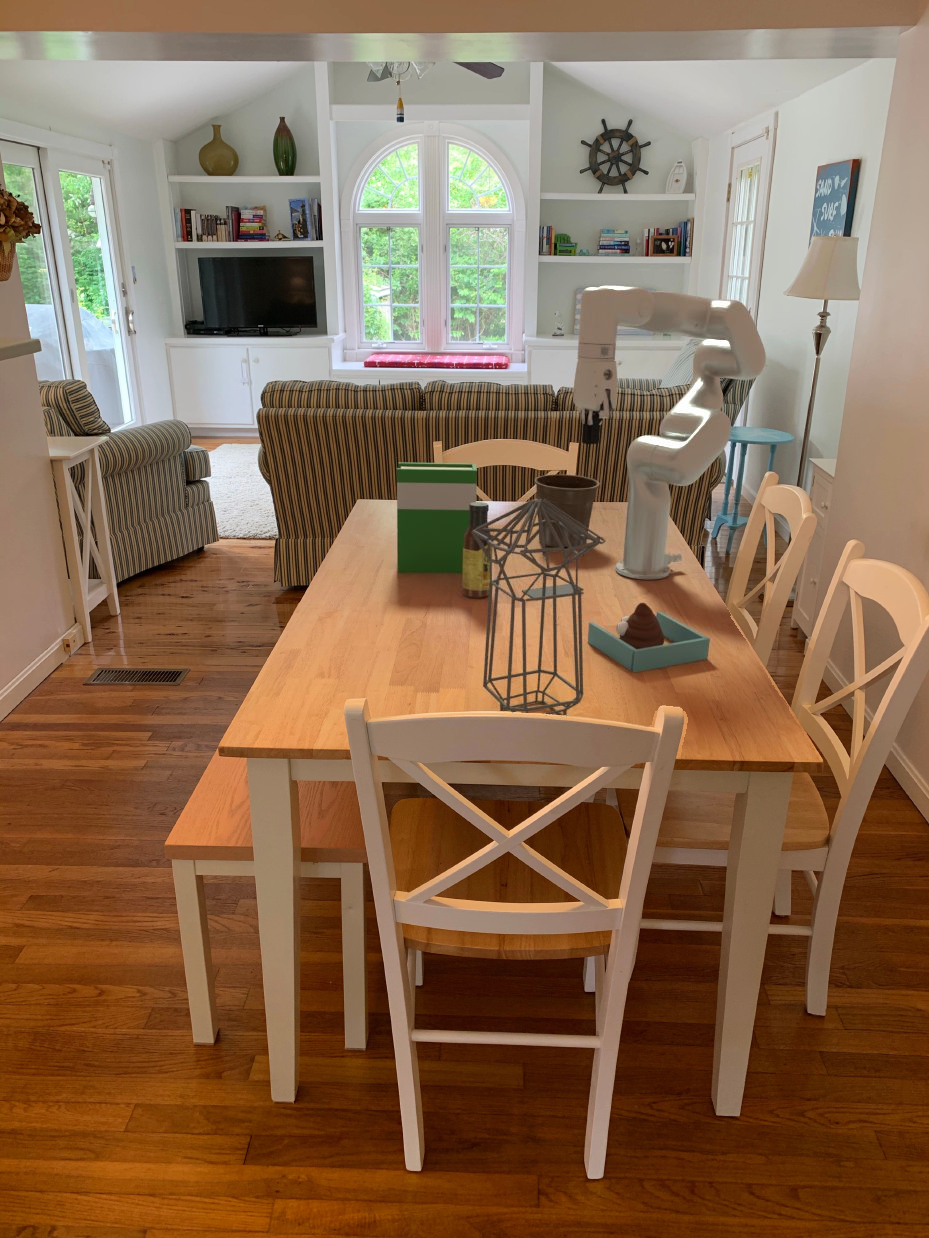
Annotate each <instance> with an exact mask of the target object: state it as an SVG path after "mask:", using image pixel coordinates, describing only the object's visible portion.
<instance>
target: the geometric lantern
mask: <svg viewBox="0 0 929 1238" xmlns="http://www.w3.org/2000/svg"><path fill="white" fill-rule="evenodd" d="M560 512H561V513H560ZM516 513H517V514H516ZM541 513H542V515H543V516H544V518H545V520H543V521H542V517H541ZM546 513H547V514H548V515H549V516H550V517H551V518H552V519H553V520H554V521H550V519H549V518H548V516H547V514H546ZM514 514H515V515H514ZM563 514H564V515H563ZM512 515H514V517H512V518H511V519H510V520H509V521H508V522H507V523H506V524H504V526H503V527H502V528H495V527H494V528H493V527H489V526H490V525H493V524H495V523H497V522H499V521H502V520H503V519H505V518H508V517H510V516H512ZM566 516H567V517H568V518H567V517H566ZM569 518H570V519H571V520H573V521H574V522H576V523H577V524H579V525H580V526H582V527H583V528H585V529H586V530H588V532H587V531H585V530H584V529H583V528H581V527H580V526H578V525H577V524H576V523H574V522H573V521H571V520H570V519H569ZM523 519H524V520H523ZM536 519H537V522H536ZM522 520H523V521H522ZM521 521H522V523H521V525H520V527H519V529H516V530H514V529H515V528H516V527H517V526H518V525H519V523H520V522H521ZM551 522H553V523H557V524H558V526H559V528H560V531H561V533H562V535H563V537H564V539H565V542H566V544H567V546H568V547H566V548H565V547H563V545H562V543H561V541H560V539H559V537H558V535H557V534H556V532H555V530H554V528H553V526H552V524H551ZM547 524H548V526H549V528H550V530H551V532H552V534H553V536H554V538H555V540H556V542H557V543H558V545H559V548H554V547H547V546H546V545H545V540H544V532H543V528H544V527H545V526H546V525H547ZM487 526H488V528H485V527H487ZM537 526H538V528H537V529H536V530H535V532H534V533H533V534H532V532H533V530H534V528H535V527H537ZM563 528H564V529H565V530H566V531H568V532H569V533H570V534H572V535H573V537H575V538H576V541H575V545H574V547H572V546H571V544H570V542H569V540H568V538H567V535H566V533H565V531H564V529H563ZM576 530H577V531H578V532H580V533H581V534H583V535H581V534H579V533H578V532H577V531H576ZM477 531H478V532H477ZM479 532H480V533H482V534H483V535H482V534H480V533H479ZM487 532H490V534H489V533H487ZM491 532H493V533H495V534H494V535H493V534H491ZM471 533H472V534H473V536H474V538H475V539H476V541H477V542H478V544H479V546H480V547H481V549H482V551H483V552H484V554H485V555H486V557H487V559H488V560H489V561H490V583H489V595H488V596H487V597H488V600H487V617H486V618H487V619H486V634H485V635H486V636H485V646H484V647H485V650H484V652H485V653H484V665H483V683H482V687H483V688H484V690H486V692H488V693H489V694H490V695H491V696H492V697H493V698H494V699H495V700H496V701H497V702H498V703H499V712H500V711H503V712H504V711H505V710H506V711H509V712H511V713H513V712H524V713H529V714H530V712H532V711H538V710H543V709H550V710H552V711H548V712H545V713H546V714H549V715H553V714H557V715H559V716H560V715H566V716H567V714H568V712H567V711H568V710H571V708H574V707H576V706H577V705H578V704H580V703H581V701H582V699H583V697H584V673H583V672H584V670H583V669H584V668H583V666H584V665H583V661H584V659H583V617H582V615H583V614H582V612H583V611H582V610H583V609H582V607H583V605H582V594H581V591H583V592H584V588H583V587H582V586H579V578H578V577H579V576H578V575H579V571H578V569H579V568H578V567H579V566H578V565H579V564H578V562H579V560H578V559H579V558H581V557H585V556H586V555H585V554H586V553H588V552H590V551H591V550H593V549H594V548H595V547H597V546H598V545H599V544H600V545H603V544H605V543H606V542H607V540H606V539H605V538H603V537H602V536H600V535H598V534H597V533H596V532H594V531H593V530H591V529H590V528H589V529H588V528H587V527H585V526H584V525H582V524H581V523H579V522H578V521H576V520H575V519H573V518H572V517H570V516H569V515H567V514H566V513H564V512H563V511H562V510H560V509H559V508H557V507H556V506H554V505H553V504H551V503H550V502H548V501H547V500H545V499H544V501H543V500H541V499H540V500H538V497H537V498H535V499H531V500H528V501H526V502H524V503H523V504H521V505H519V506H517V507H516V508H514V509H512V510H510V511H508V512H505V513H504V514H501V515H500V516H498V517H495V518H493V519H491V520H489V521H488V522H487V523H485V524H483V525H481V526H479V527H477V528H476V529H475V530H473V531H472V532H471ZM503 533H504V534H503ZM539 533H540V538H541V543H540V544H541V548H532V549H531V548H530V549H529V548H528V546H529V545H530V544H531V542H533V540H534V539H536V537H538V536H539ZM502 534H503V536H501V535H502ZM513 534H514V535H515V537H514V540H513ZM523 534H526V536H525V543H524V544H519V542H520V540H521V537H522V535H523ZM531 534H532V535H531ZM484 535H485V536H484ZM478 536H479V537H480V538H482V539H484V540H486V541H487V547H488V552H487V550H486V549H485V547H484V545H483V544H482V542H481V541H480V539H479V537H478ZM486 536H487V537H486ZM499 536H501V538H499ZM508 536H509V542H507V541H505V540H506V539H507V538H508ZM488 537H489V538H491V539H490V540H489V538H488ZM578 539H579V540H582V541H584V544H583V545H579V546H577V543H578ZM588 540H589V541H591V542H587V541H588ZM495 542H497V543H495ZM490 545H491V546H493V548H492V549H493V554H494V555H493V556H494V558H493V557H492V558H491V553H490ZM501 545H503V546H505V547H503V546H501ZM516 549H520V551H519V552H518V551H515V550H516ZM497 550H498V551H501V552H504V554H503V555H502V556H500V558H498V553H497ZM578 550H581V551H579V552H578ZM550 552H551V553H553V552H561V553H562V554H563V561H562V562H561V564H560V565H555V566H552V567H550V561H549V559H550V558H549V554H548V553H550ZM537 553H538V554H539V553H542V556H543V557H545V562H546V564H545V565H546V567H544V566H543V565H542V564H541V563H539V562H538V561H537V559H536V558H535V556H534V555H533V554H537ZM511 554H514V555H515V554H516V555H520V556H522V557H523V558H524V559H526V560H528V561H529V562H530V563H531V564H533V565H534V566H535V567H537V568H538V569H539V570H540V571H541V572H536V573H535V572H533V573H527V574H519V575H518V574H517V575H512V576H508V575H507V573H506V571H505V566H506V562H507V561H508V557H509V556H510V555H511ZM572 554H573V555H574V556H573V557H571V558H570V556H571V555H572ZM529 555H530V556H529ZM569 558H570V559H569ZM573 562H575V582H574V579H573V576H572V573H571V572H570V568H569V565H571V564H572V563H573ZM493 564H495V565H498V567H499V571H498V574H497V577H496V578H495V579H493ZM563 569H565V573H566V575H567V577H568V579H566V578H565V577H562V576H561V575H559V574H560V573H561V571H562V570H563ZM554 571H556V572H555V573H552V572H554ZM550 572H551V573H550ZM502 576H503V577H502ZM533 576H535V577H536V578H535V579H534V580H533V581H532V583H531V584H530V585H529V587H528V588H527V589H525V590H526V592H525V593H523V594H522V595H521V596H520V597H518V596H517V595H516V593H515V590H514V589H513V586H512V584H511V581H510V580H513V579H520V578H526V577H533ZM541 576H542V587H541V588H542V597H537V598H531V597H530V598H525V596H527V592H528V591H529V590H530V589H532V587H533V586H534V585H535V583H536V582H537V581H538V580H539V578H540V577H541ZM547 577H549V578H552V586H553V595H552V596H545V593H546V587H547ZM557 578H558V579H560V580H562V581H563V582H565V583H566V584H571V586H572V588H573V591H574V592H572V593H568V594H560V595H556V586H557ZM500 581H505V583H506V586H507V588H508V589H509V592H508V591H506V589H504V588H502V587H501V586H500ZM493 587H494V600H493ZM499 591H501V592H502V593H504V594H505V595H507V596H508V597H509V598H511V605H510V606H511V607H510V625H509V642H508V643H509V645H508V659H507V660H508V663H507V665H508V666H507V674H506V675H501V676H497V677H492V672H493V664H494V663H493V662H494V653H495V652H494V650H495V641H496V640H495V638H496V627H497V626H496V625H497V615H498V614H497V613H498V598H499ZM570 596H571V602H572V603H571V605H572V606H571V608H572V633H573V653H574V655H573V656H574V677H575V680H574V681H575V685H574V684H572V683H571V682H570V681H568V680H567V679H566V678H565V677H563V676H562V675H560V674H559V673H558V644H557V643H558V637H557V635H558V633H557V632H558V629H557V627H558V625H557V622H558V621H557V616H558V615H557V598H564V597H570ZM576 596H577V600H576ZM548 599H552V627H553V628H552V629H553V630H552V633H553V635H552V637H553V638H552V639H553V641H552V642H553V643H552V644H553V645H552V646H553V671H551V670H545V669H542V658H543V643H544V642H543V640H544V627H545V626H544V625H545V623H544V622H545V607H546V600H548ZM538 600H541V608H540V609H541V611H540V623H539V624H540V626H539V627H540V629H539V643H538V644H539V645H538V662H537V669H534V670H530V671H527V630H526V629H527V628H526V627H527V624H526V619H527V618H526V615H527V614H526V611H527V610H526V606H527V605H526V602H532V601H538ZM492 601H494V602H493V610H492ZM516 601H517V602H521V638H522V641H521V642H522V647H521V648H522V649H521V650H522V672H519V673H518V672H517V673H512V672H513V671H512V670H513V651H514V649H513V648H514V632H515V631H514V630H515V628H514V627H515V609H516ZM492 611H493V612H492ZM577 614H578V615H577ZM577 617H578V619H577ZM491 618H492V619H491ZM491 620H492V624H491ZM577 620H578V621H577ZM577 622H578V623H577ZM491 625H492V626H491ZM490 634H491V635H490ZM490 636H491V637H490ZM489 651H490V652H489ZM534 674H538V675H537V687H536V688H537V689H536V690H531V691H527V690H528V689H527V686H528V685H527V676H529V675H534ZM541 674H546V675H551V676H552V677H551V678H550V680H549V681H548V682H547V684H546V686H545V687H544V689H543V690H540V687H541V686H540V685H541ZM519 677H522V693H519V694H516V695H511V692H512V691H511V689H512V678H519ZM555 678H557V679H559V680H560V681H561V682H563V683H564V684H566V685H567V686H568V687H570V688H571V689H572V690H574V691H575V697H574V698H573V699H572V700H568V701H562V702H561V701H560V700H558V699H556V698H555V697H554V696H552V695H550V694H548V692H546V691H547V690H548V688H549V687H550V685H551V683H552V682H553V680H554V679H555ZM506 679H507V681H506V682H507V684H506V697H504V698H503V697H502V694H501V693H500V692H499V690H498V688H497V687H496V686H495V684H494V683H493V682H497V681H501V680H506ZM489 684H490V685H491V686H492V688H493V690H494V691H495V692H494V691H493V690H492V689H491V688H490V687H489V686H488V685H489ZM531 694H535V698H534V699H535V700H531V701H528V695H531ZM539 694H541V700H538V699H539V698H538V697H539ZM545 696H546V697H548V698H549V699H551V700H552V701H553V703H550V704H549V703H548V702H547V701H545ZM520 697H523V703H522V702H521V703H519V704H514V705H511V700H512V699H515V698H520ZM505 701H506V702H505ZM554 702H555V703H554ZM537 703H538V704H541V705H537V706H536V705H535V706H532V707H531V706H530V707H528V705H533V704H537ZM556 707H563V708H562V709H556ZM562 713H563V714H562Z"/></svg>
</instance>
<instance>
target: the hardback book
mask: <svg viewBox="0 0 929 1238" xmlns="http://www.w3.org/2000/svg"><path fill="white" fill-rule="evenodd" d="M397 466H398V467H396V508H397V509H396V518H397V519H396V521H397V522H396V529H397V531H396V535H397V539H396V540H397V541H396V542H397V544H396V545H397V547H396V549H397V550H396V552H397V554H396V555H397V559H396V560H397V564H396V567H397V568H396V569H397V573H399V574H456V575H457V574H458V575H459V574H461V575H463V546H464V534H465V532H466V530H467V529H468V527H469V525H470V523H469V521H470V510H469V505H470V503H473V502H477V487H478V486H477V482H478V480H477V478H478V469H477V463H462V462H461V463H459V462H447V463H446V462H405V461H404V462H403V461H401V462H399V461H398V465H397Z"/></svg>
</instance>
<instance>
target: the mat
mask: <svg viewBox="0 0 929 1238" xmlns="http://www.w3.org/2000/svg"><path fill="white" fill-rule="evenodd" d="M526 590H527V589H522V590H521V592H522V593H523V594H524V593H525V592H526ZM572 592H574V591H573V588H572V586H571V584H569V583H565V584H558V585H557V584H556V595H560V594H568V593H572ZM582 594H584V590H583V591H581V595H582ZM552 595H553V585H551V586H546V593H545V596H552ZM526 596H528V597H530V598H537V597H542V587H534V588H531V589H530V590H529V591H528V592H527V594H526Z"/></svg>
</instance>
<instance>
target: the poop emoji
mask: <svg viewBox="0 0 929 1238" xmlns="http://www.w3.org/2000/svg"><path fill="white" fill-rule="evenodd" d="M616 633H617V634H619V637H618V638H619V639H621V640H622V641H624V642H625V643H627V644H629V645H630V646H632V647H633V648H635V649H642V648H648V647H653V646H659V645H665V644H664V643H665V637H664V636H663V632H662V629H661V627H660V623H659V621H658V620H657V618H656V614H654V611H653V609H652V608H651V607H650V606H649V605H647V603H645V602H640V603H638V604H637V605H636V607H635V610H634V612H632V614H631V615H626V616H625V615H624V616H623V617H622V618H621V620H620V622H619V623H618V624H617V625H616Z"/></svg>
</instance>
